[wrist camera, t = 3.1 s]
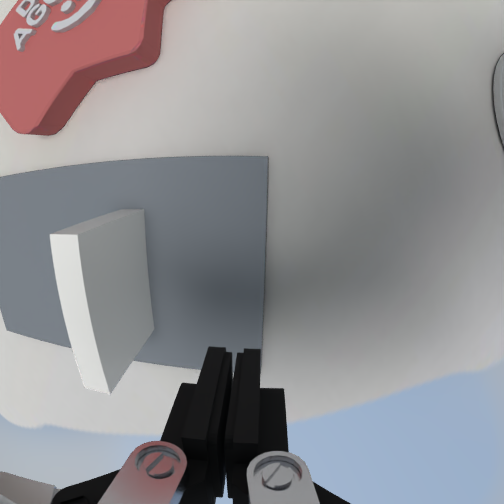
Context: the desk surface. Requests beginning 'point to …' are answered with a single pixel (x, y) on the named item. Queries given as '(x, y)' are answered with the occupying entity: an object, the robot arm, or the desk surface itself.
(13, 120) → the plaque
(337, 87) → the desk surface
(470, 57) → the desk surface
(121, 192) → the tile mat
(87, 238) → the tile
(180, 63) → the desk surface
